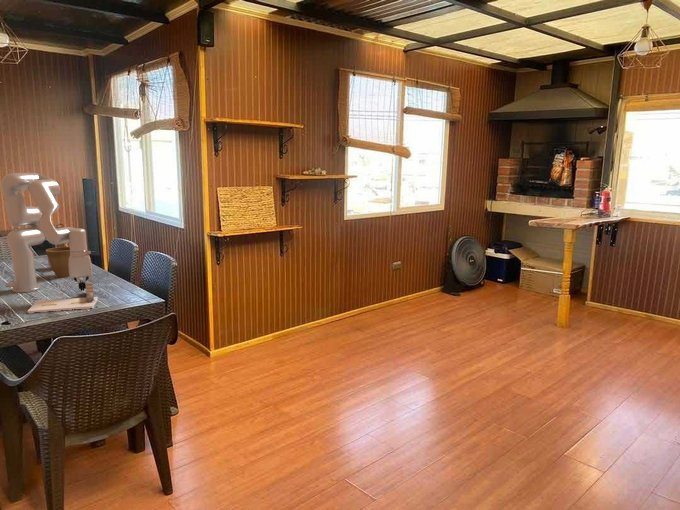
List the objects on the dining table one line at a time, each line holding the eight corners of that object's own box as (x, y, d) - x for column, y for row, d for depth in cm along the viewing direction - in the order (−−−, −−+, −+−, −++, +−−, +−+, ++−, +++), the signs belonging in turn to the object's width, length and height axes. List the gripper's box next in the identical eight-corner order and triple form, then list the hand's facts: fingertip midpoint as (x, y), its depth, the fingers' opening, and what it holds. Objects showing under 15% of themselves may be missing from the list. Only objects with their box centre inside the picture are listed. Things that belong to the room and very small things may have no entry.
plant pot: (83, 273, 290) (81, 246, 287) (67, 279, 276) (64, 251, 272) (59, 272, 292) (57, 246, 288) (42, 278, 277) (39, 250, 274)
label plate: (27, 313, 217) (27, 310, 217) (37, 303, 232) (36, 300, 232) (92, 308, 225) (92, 305, 225) (97, 299, 240) (97, 296, 240)
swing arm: (93, 300, 231) (93, 293, 231) (86, 301, 230) (86, 294, 229) (93, 288, 252) (92, 282, 251) (86, 289, 251) (86, 282, 250)
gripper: (96, 251, 247) (99, 286, 250) (62, 253, 240) (65, 289, 244) (96, 254, 240) (99, 290, 244) (61, 256, 234) (64, 293, 237)
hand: (82, 290), depth 244 cm, fingers closed
